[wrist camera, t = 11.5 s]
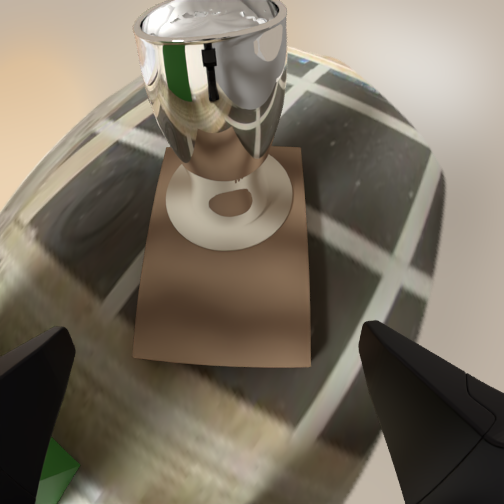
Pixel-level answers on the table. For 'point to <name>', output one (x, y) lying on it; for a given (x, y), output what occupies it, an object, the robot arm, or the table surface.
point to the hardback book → (55, 474)
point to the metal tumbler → (217, 96)
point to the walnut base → (227, 277)
